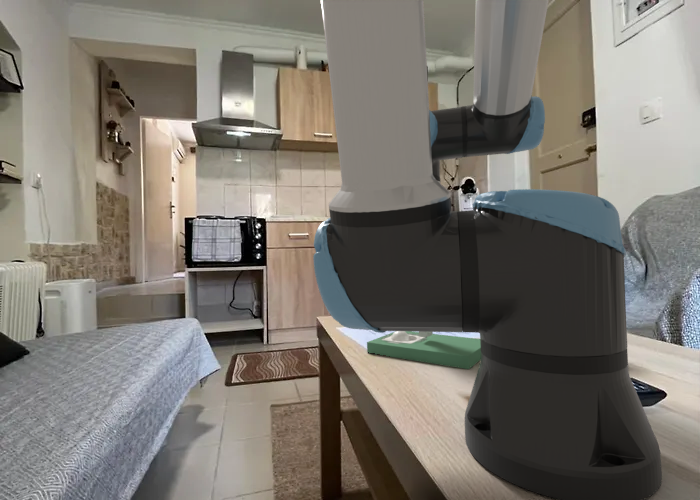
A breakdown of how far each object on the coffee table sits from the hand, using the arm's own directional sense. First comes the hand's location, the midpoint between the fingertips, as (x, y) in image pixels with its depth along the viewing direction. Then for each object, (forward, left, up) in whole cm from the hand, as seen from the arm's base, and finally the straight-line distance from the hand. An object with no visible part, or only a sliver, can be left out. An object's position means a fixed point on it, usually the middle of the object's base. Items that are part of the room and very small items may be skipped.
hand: (425, 335), depth 66 cm
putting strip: (0, 0, -3) cm, 3 cm away
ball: (0, +5, -1) cm, 6 cm away
